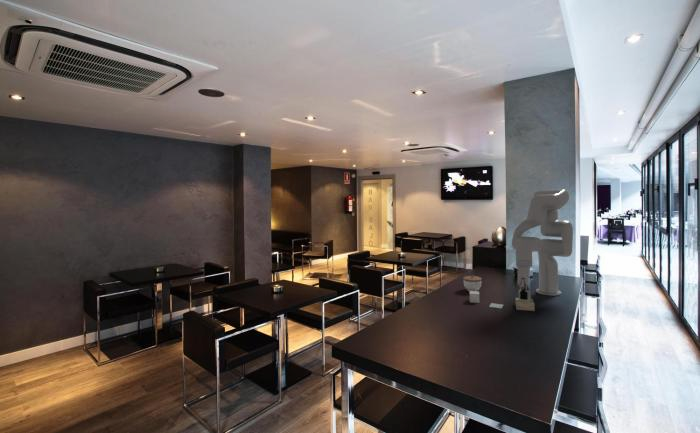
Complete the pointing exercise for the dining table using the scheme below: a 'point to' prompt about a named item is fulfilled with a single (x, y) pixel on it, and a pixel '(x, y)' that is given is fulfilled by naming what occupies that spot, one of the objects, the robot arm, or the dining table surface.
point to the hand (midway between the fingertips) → (524, 297)
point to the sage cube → (527, 297)
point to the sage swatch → (496, 305)
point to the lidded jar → (472, 283)
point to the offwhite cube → (474, 297)
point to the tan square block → (525, 305)
